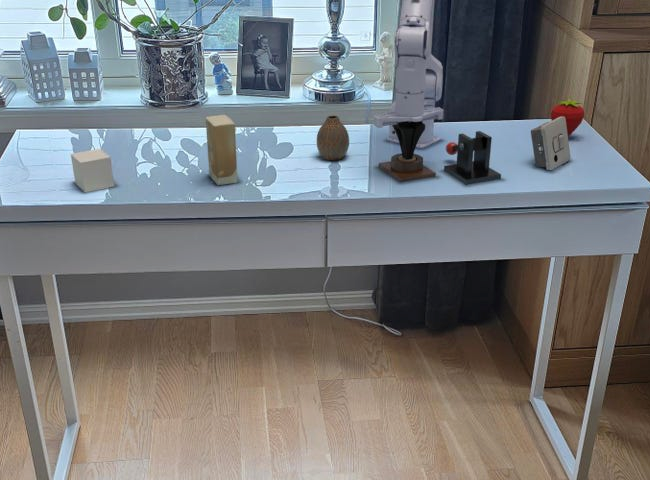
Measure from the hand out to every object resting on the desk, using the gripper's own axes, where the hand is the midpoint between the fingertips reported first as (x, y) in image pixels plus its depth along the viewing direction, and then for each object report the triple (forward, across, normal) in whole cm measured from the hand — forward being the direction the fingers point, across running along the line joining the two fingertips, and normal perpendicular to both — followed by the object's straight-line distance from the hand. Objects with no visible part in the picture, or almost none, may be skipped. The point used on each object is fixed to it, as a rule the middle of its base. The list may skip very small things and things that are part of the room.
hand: (407, 157), depth 183 cm
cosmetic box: (+3, -36, +11) cm, 37 cm away
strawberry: (+3, +43, +5) cm, 44 cm away
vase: (+3, -10, +15) cm, 18 cm away
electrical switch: (+3, +30, -8) cm, 31 cm away
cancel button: (+2, 0, 0) cm, 2 cm away
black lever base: (+3, +11, -7) cm, 14 cm away
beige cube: (+3, -60, +19) cm, 63 cm away
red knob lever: (-1, +11, -3) cm, 12 cm away
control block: (+3, 0, 0) cm, 3 cm away
